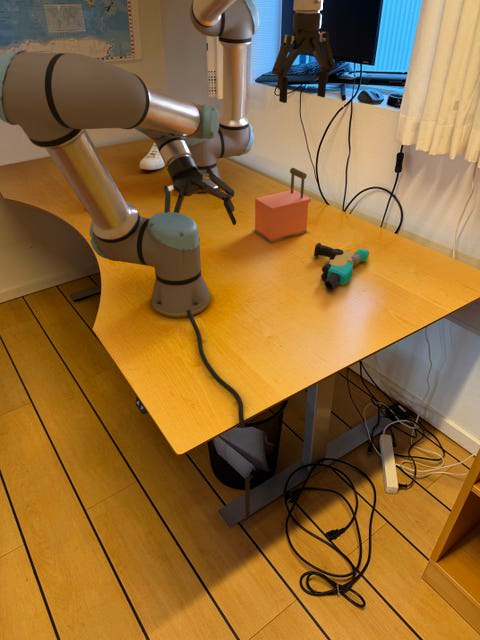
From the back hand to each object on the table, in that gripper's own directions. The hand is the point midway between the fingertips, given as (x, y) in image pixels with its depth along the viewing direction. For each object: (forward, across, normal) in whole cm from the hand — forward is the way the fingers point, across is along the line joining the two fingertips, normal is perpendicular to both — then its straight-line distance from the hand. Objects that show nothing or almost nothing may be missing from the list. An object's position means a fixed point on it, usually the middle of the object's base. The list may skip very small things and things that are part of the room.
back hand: (302, 99), depth 138 cm
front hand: (+26, -39, -16) cm, 50 cm away
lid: (+30, -5, 0) cm, 30 cm away
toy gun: (+40, -8, -30) cm, 51 cm away
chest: (+40, -6, 0) cm, 41 cm away
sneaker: (+40, -14, +88) cm, 98 cm away
